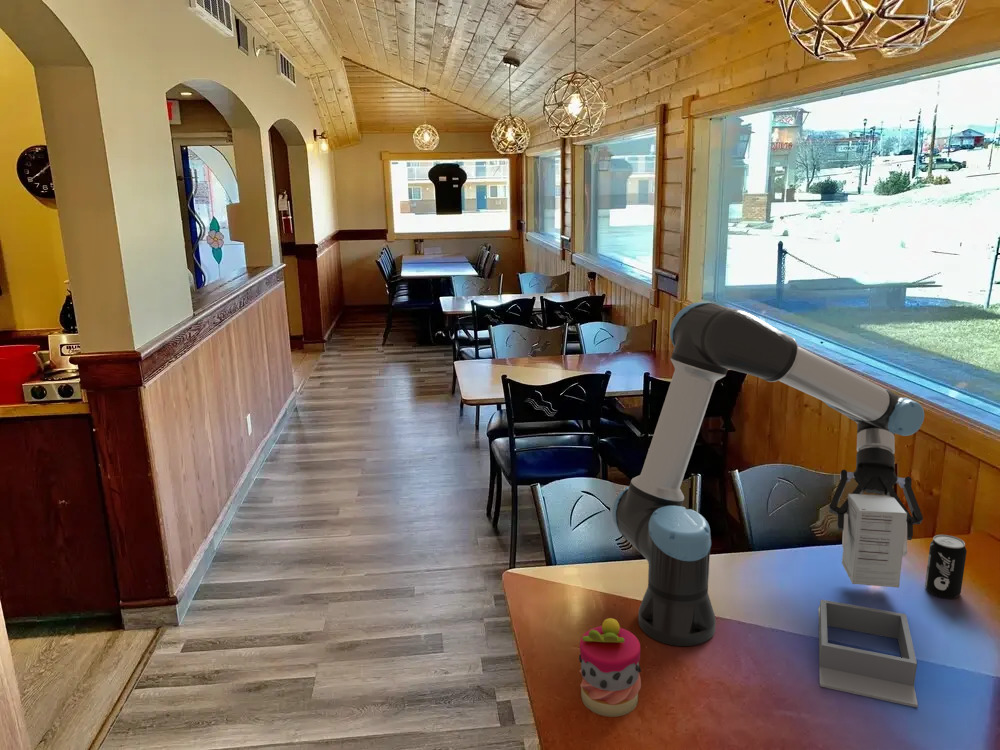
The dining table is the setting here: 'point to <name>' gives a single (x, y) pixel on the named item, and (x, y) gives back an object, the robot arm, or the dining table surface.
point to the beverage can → (945, 566)
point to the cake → (610, 669)
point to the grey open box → (867, 654)
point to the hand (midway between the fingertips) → (874, 549)
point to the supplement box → (874, 540)
